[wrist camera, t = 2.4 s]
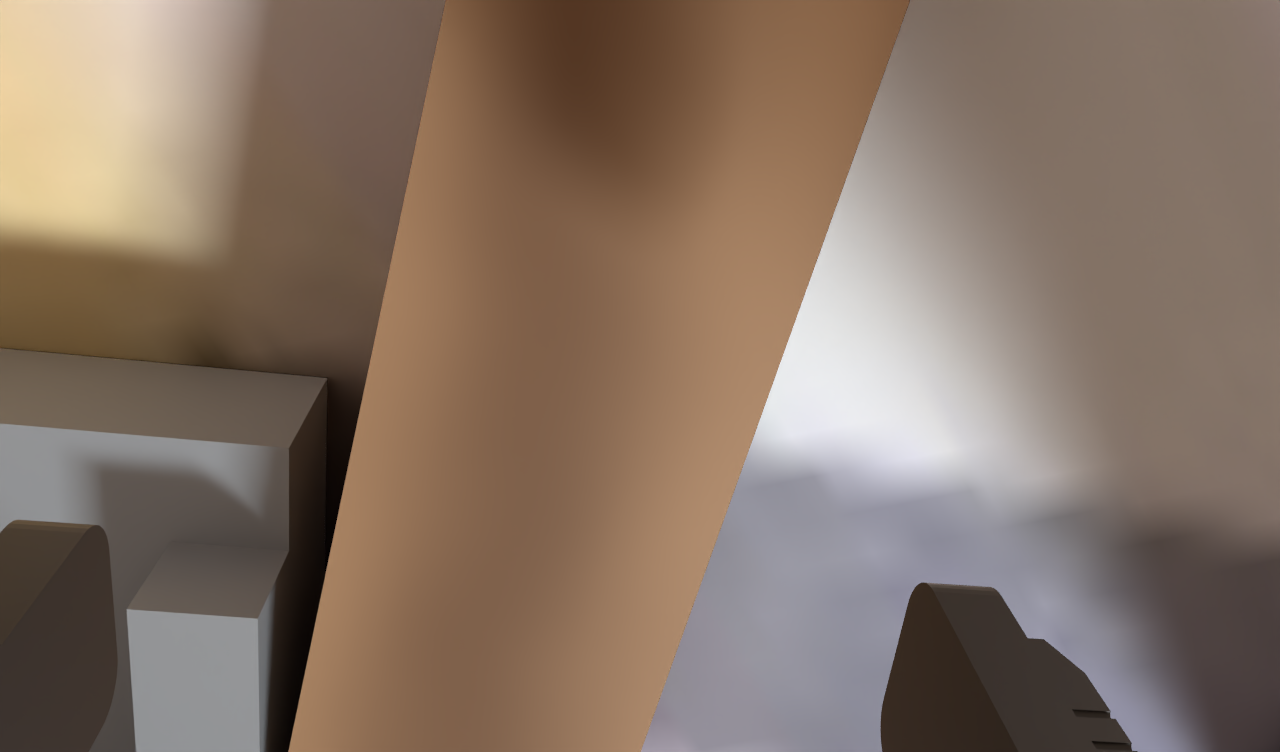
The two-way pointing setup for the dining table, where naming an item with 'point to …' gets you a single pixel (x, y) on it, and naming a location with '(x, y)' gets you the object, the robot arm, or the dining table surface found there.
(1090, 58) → the dining table surface
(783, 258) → the rail
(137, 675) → the bracket
